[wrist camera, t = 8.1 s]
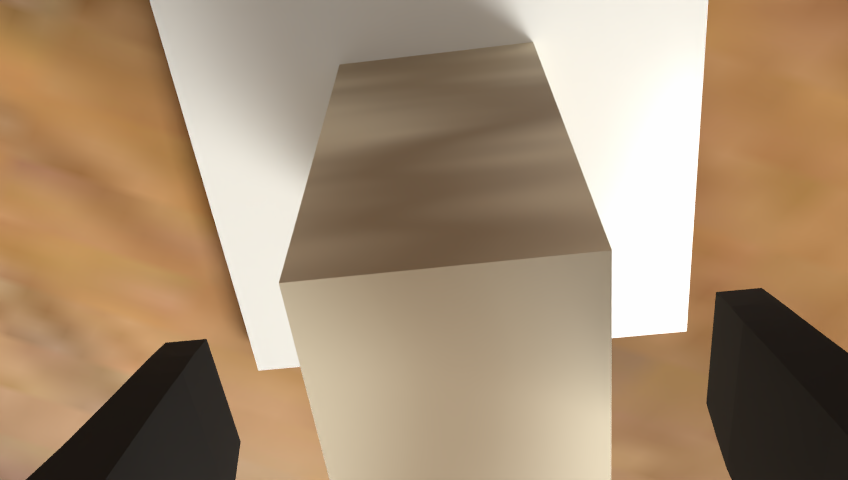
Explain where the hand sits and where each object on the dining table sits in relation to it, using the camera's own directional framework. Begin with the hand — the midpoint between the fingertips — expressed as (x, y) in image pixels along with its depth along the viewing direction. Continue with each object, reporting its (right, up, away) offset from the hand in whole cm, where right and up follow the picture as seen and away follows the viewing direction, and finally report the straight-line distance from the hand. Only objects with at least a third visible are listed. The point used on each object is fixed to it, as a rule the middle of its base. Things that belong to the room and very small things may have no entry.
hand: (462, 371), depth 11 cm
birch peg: (0, +4, +6) cm, 7 cm away
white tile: (0, +4, +7) cm, 8 cm away
